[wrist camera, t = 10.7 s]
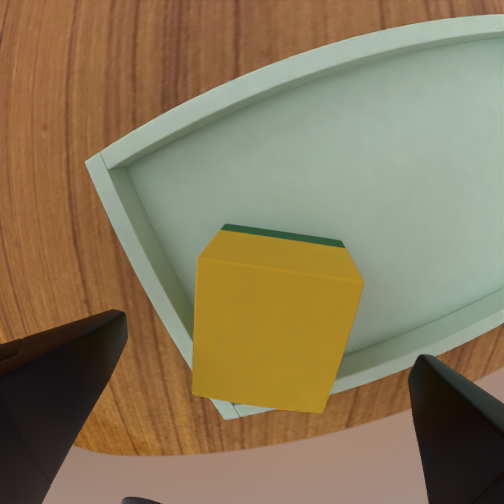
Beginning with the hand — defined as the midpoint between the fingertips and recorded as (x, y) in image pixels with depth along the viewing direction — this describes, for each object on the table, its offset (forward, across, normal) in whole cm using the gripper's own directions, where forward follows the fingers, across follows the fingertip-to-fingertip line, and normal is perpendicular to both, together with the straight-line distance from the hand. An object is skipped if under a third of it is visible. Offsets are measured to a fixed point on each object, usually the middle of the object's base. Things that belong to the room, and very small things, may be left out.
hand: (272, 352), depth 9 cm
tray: (+5, -4, -4) cm, 7 cm away
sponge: (+4, 0, 0) cm, 4 cm away
